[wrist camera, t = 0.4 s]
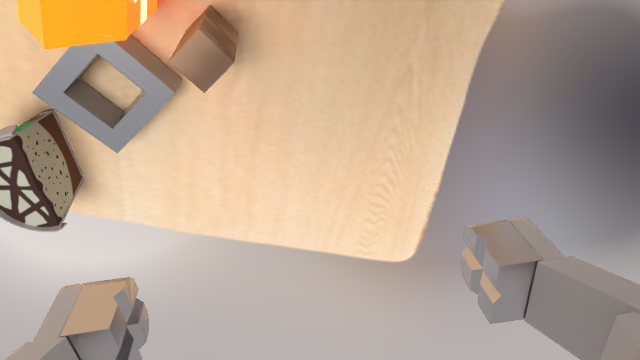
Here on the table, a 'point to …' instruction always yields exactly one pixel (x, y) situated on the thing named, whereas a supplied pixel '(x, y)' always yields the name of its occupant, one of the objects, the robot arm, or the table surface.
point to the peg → (206, 49)
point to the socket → (95, 109)
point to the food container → (37, 174)
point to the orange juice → (82, 20)
